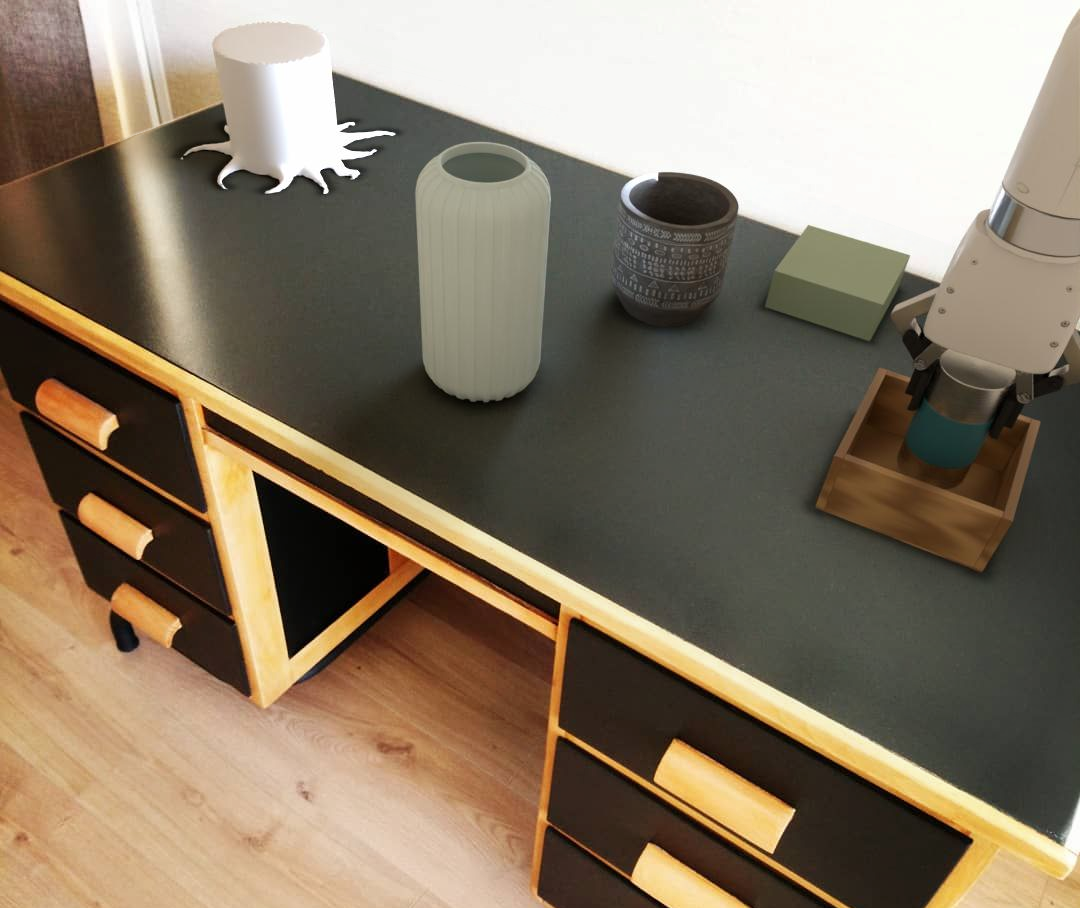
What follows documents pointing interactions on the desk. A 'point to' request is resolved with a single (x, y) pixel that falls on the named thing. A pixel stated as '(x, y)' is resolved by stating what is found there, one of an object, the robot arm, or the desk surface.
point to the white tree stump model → (280, 104)
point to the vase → (482, 269)
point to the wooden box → (917, 507)
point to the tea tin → (953, 418)
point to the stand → (837, 282)
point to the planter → (671, 246)
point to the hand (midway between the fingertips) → (955, 414)
